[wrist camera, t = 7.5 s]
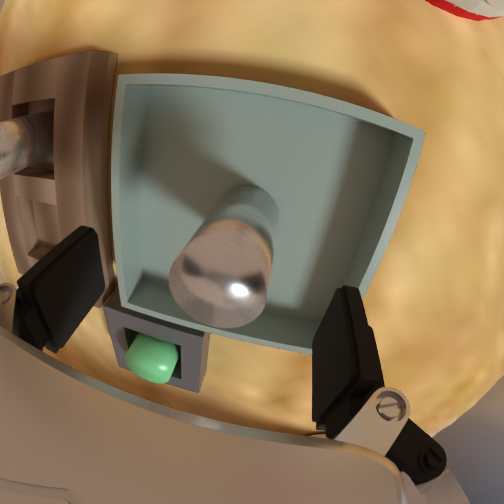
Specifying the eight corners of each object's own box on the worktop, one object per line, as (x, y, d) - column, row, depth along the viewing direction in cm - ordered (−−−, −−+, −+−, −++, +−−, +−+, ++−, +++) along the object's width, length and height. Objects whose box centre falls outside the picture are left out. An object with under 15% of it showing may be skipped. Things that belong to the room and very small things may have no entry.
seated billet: (64, 109, 15) (-22, 130, 8) (63, 159, 17) (-16, 195, 10) (34, 112, 15) (-42, 134, 8) (34, 157, 17) (-37, 190, 10)
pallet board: (117, 53, 14) (91, 49, 11) (115, 288, 24) (99, 308, 21) (22, 73, 14) (-1, 76, 11) (35, 258, 24) (18, 272, 22)
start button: (183, 328, 24) (168, 362, 20) (183, 357, 26) (171, 388, 23) (140, 315, 24) (121, 345, 21) (144, 344, 26) (128, 373, 23)
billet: (285, 192, 17) (277, 260, 10) (272, 248, 19) (256, 336, 12) (221, 179, 17) (169, 235, 10) (213, 235, 19) (168, 314, 12)
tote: (401, 125, 14) (426, 132, 11) (327, 324, 22) (330, 357, 19) (148, 77, 14) (118, 74, 11) (141, 280, 23) (121, 306, 20)
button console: (212, 312, 23) (203, 337, 21) (206, 371, 28) (198, 393, 25) (119, 285, 23) (103, 305, 21) (130, 347, 28) (119, 366, 25)
